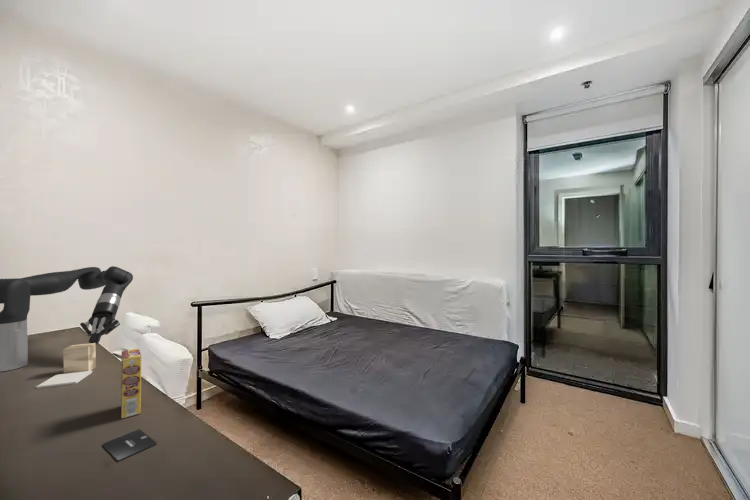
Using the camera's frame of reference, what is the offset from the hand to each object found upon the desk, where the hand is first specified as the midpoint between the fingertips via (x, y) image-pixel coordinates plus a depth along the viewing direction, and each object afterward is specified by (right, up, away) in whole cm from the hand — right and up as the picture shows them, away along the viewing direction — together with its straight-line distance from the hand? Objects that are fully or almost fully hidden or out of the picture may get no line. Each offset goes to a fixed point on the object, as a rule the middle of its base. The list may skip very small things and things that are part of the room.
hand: (92, 343), depth 121 cm
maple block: (+2, -7, -8) cm, 11 cm away
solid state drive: (+55, -7, -52) cm, 76 cm away
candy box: (+43, -7, -37) cm, 57 cm away
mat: (+5, -7, -16) cm, 18 cm away
